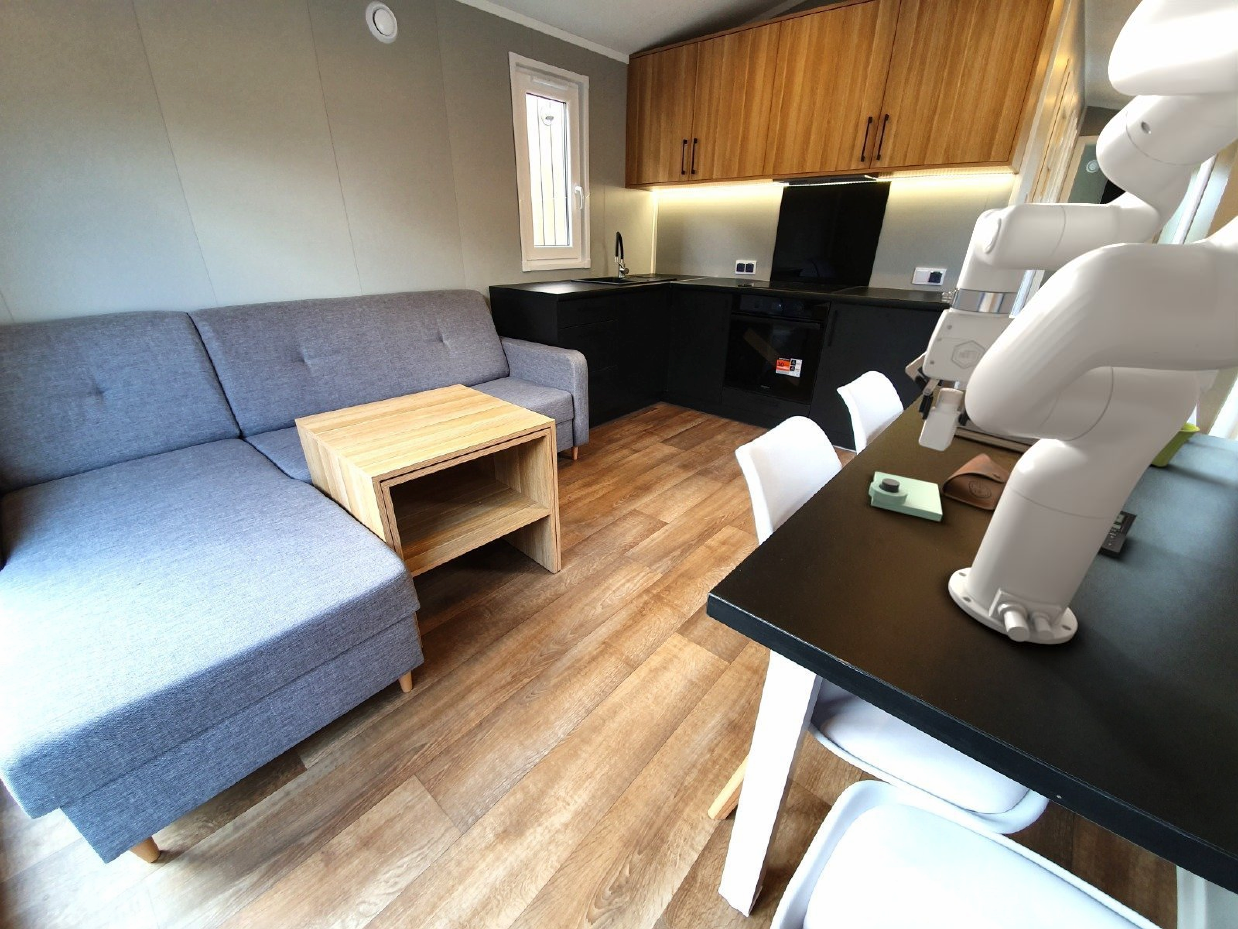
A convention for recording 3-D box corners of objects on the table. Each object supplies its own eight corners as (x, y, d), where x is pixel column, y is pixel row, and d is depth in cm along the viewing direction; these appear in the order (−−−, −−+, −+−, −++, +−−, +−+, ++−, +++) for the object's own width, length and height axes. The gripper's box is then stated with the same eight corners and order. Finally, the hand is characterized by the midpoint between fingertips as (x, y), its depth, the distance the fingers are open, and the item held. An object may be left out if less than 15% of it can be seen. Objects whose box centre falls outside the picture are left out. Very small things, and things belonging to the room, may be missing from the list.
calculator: (1036, 529, 77) (1043, 512, 75) (1053, 506, 83) (1061, 491, 82) (1115, 557, 70) (1125, 540, 69) (1128, 530, 77) (1137, 514, 76)
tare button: (897, 495, 80) (900, 486, 79) (879, 491, 81) (882, 483, 80) (897, 488, 82) (900, 480, 81) (880, 485, 83) (882, 476, 82)
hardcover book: (949, 434, 114) (952, 425, 113) (975, 413, 128) (978, 405, 127) (1034, 456, 103) (1038, 446, 102) (1052, 431, 118) (1056, 422, 117)
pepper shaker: (916, 445, 81) (934, 390, 77) (924, 439, 84) (941, 385, 80) (943, 452, 79) (963, 396, 75) (950, 446, 81) (969, 391, 77)
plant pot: (1187, 467, 101) (1210, 427, 97) (1162, 473, 98) (1185, 433, 94) (1131, 449, 109) (1150, 412, 105) (1106, 455, 105) (1125, 417, 102)
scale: (940, 524, 77) (946, 507, 76) (865, 506, 81) (870, 490, 80) (935, 491, 87) (940, 476, 86) (869, 476, 92) (873, 462, 90)
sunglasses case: (997, 511, 80) (985, 472, 80) (949, 515, 86) (937, 479, 86) (1022, 480, 91) (1012, 446, 91) (978, 485, 97) (968, 453, 97)
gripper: (917, 300, 72) (884, 417, 80) (1061, 312, 65) (1009, 438, 73) (915, 296, 78) (885, 404, 86) (1047, 305, 71) (1001, 423, 79)
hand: (942, 419), depth 79 cm, fingers closed on pepper shaker, 4 cm apart
